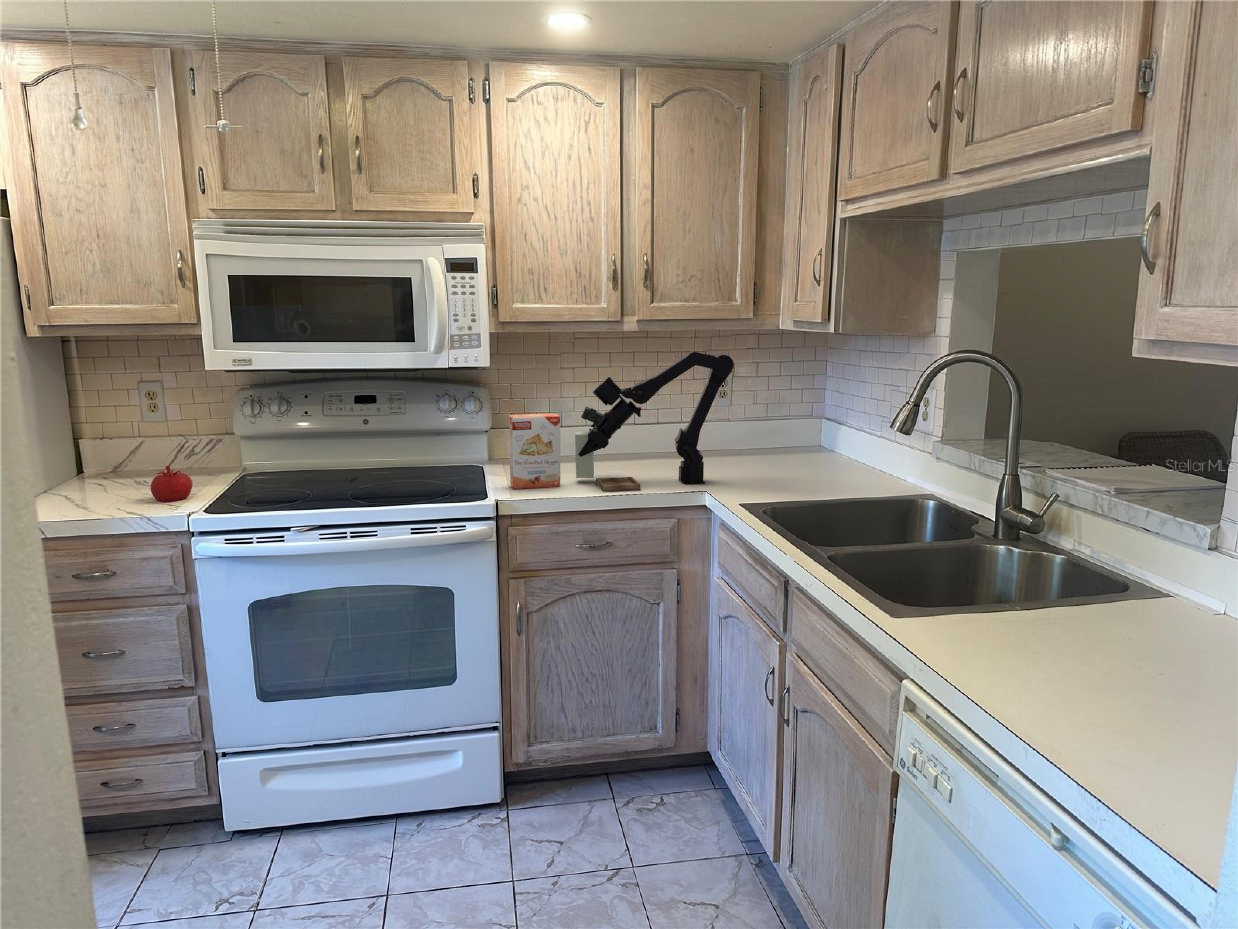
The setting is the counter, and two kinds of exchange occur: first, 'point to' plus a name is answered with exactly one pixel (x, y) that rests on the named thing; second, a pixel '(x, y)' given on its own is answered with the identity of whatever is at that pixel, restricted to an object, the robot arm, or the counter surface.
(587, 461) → the sage wooden block
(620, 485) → the walnut tray
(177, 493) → the red tomato
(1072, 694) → the counter surface
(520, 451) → the cracker box
